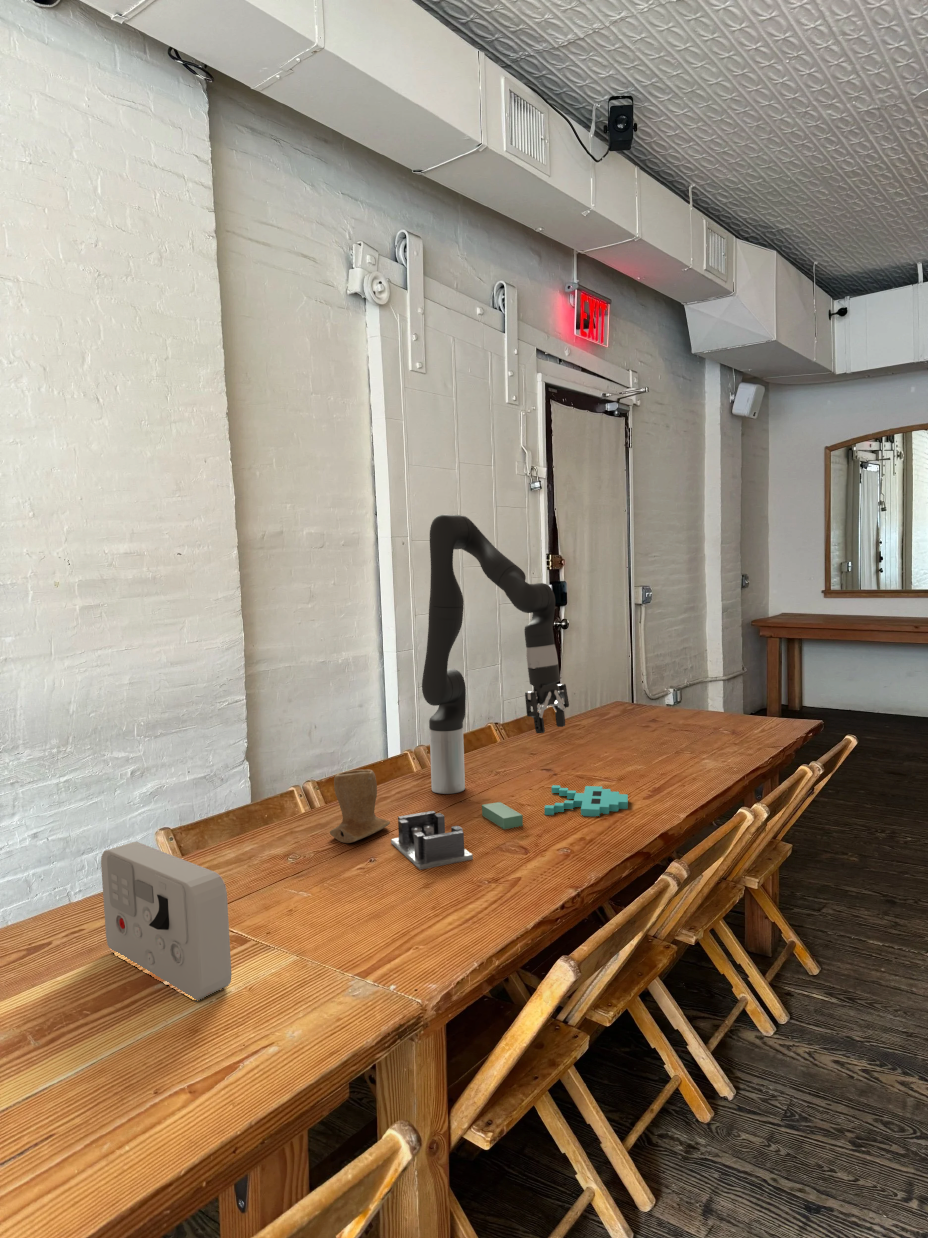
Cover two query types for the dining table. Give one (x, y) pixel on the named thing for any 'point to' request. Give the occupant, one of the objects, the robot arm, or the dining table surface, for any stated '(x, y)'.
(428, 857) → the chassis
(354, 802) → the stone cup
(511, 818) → the green block
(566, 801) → the alien figure
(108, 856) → the grey button box
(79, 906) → the dining table surface
